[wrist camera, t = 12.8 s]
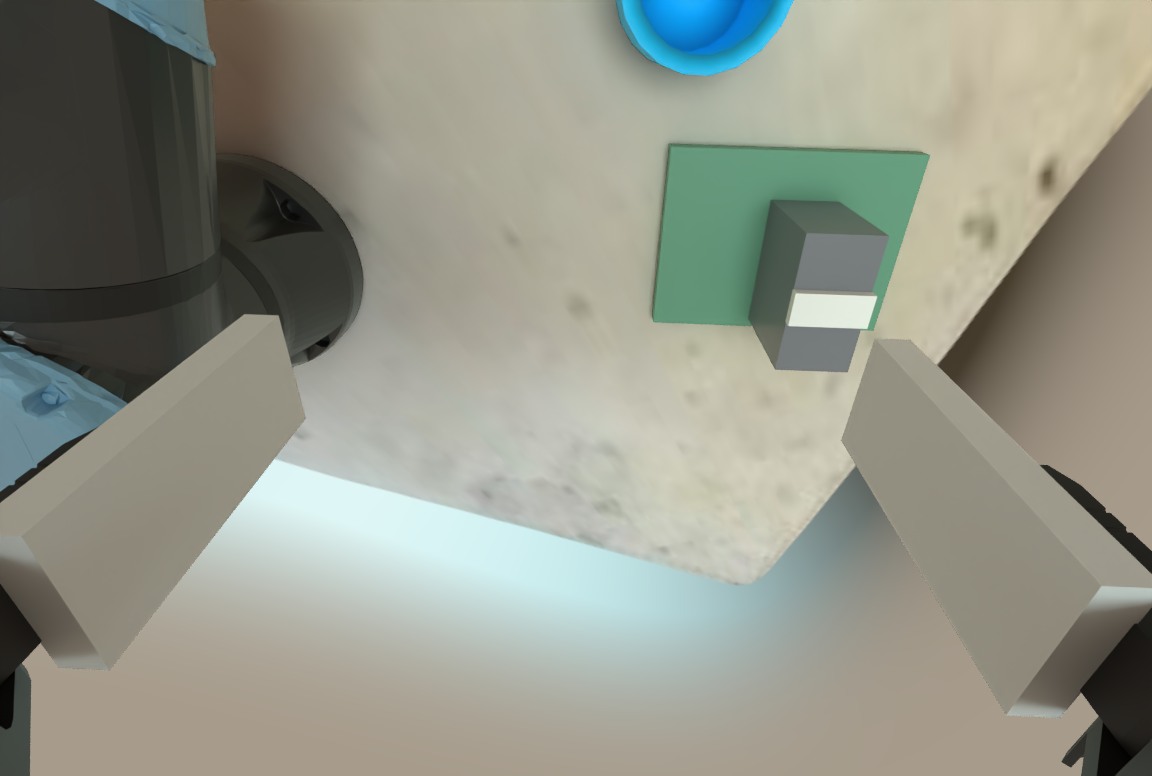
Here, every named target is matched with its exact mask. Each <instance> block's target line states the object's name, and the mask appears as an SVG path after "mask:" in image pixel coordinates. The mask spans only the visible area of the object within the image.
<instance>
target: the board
mask: <svg viewBox="0 0 1152 776" xmlns="http://www.w3.org/2000/svg"><path fill="white" fill-rule="evenodd" d="M929 157H930V155H928V154H925V153H923V152H909V151H878V150H847V149H816V148H785V147H753V146H722V145H691V144H669V152H668V162H667V172H666V182H665V192H664V202H663V212H662V222H661V231H660V241H659V251H658V261H657V271H656V281H655V291H654V301H653V311H652V318H653V322H662V323H688V324H714V325H740V326H752V325H751V323H750V321H749V319H748V316H749V311H750V306H751V301H752V296H753V291H754V285H755V280H756V275H757V270H758V265H759V259H760V254H761V249H762V244H763V239H764V234H765V228H766V223H767V218H768V213H769V208H770V202H771V200H801V201H833V202H841V203H842V204H843V205H845V206H846V207H848V208H849V209H851V210H852V211H854V212H855V213H857V214H858V215H860V216H861V217H862V218H864V219H865V220H867V221H868V222H870V223H871V224H873V225H874V226H876V227H877V228H879V229H880V230H882V231H883V232H884V233H886V234H887V235H889V239H888V242H887V246H886V249H885V252H884V255H883V259H882V262H881V265H880V268H879V272H878V275H877V278H876V281H875V285H874V288H873V291H872V292H873V293H874V294H876V295H877V299H876V302H875V306H874V309H873V312H872V315H871V318H870V322H869V325H868V328H867V329H861V330H870V331H873V330H874V327H875V324H876V321H877V318H878V315H879V312H880V309H881V306H882V302H883V299H884V296H885V293H886V290H887V287H888V284H889V281H890V278H891V275H892V271H893V268H894V265H895V262H896V259H897V256H898V253H899V250H900V247H901V244H902V241H903V237H904V234H905V231H906V228H907V225H908V222H909V219H910V216H911V213H912V210H913V206H914V203H915V200H916V197H917V194H918V191H919V188H920V185H921V182H922V179H923V175H924V172H925V169H926V166H927V163H928V160H929Z"/></svg>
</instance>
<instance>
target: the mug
mask: <svg viewBox="0 0 1152 776" xmlns="http://www.w3.org/2000/svg"><path fill="white" fill-rule="evenodd" d="M793 1H794V0H616V3H617V8H618V13H619V18H620V23H621V25H622V26H623V28H624V30H625V32H626V34H627V36H628V38H629V40H630V41H631V43H632V44H633V45H634V46H635V47H636V48H637V49H638V50H639V51H640V52H641V53H642V54H643V55H644V56H645V57H646V58H647V59H649V60H651V61H653V62H656V63H658V64H660V65H663V66H665V67H667V68H670V69H672V70H674V71H677V72H679V73H681V74H687V75H709V76H710V75H713V74H716V73H720V72H723V71H726V70H729V69H733V68H736V67H738V66H739V65H741V64H742V63H743V62H745V61H746V60H748V59H749V58H751V57H752V56H754V55H755V54H756V53H758V52H759V51H761V50H762V49H763V47H764V46H765V45H766V44H767V43H768V41H769V40H770V39H771V38H772V37H773V35H774V34H775V33H776V32H777V31H778V29H779V28H780V27H781V26H782V24H783V22H784V20H785V18H786V16H787V13H788V11H789V9H790V7H791V5H792V3H793Z"/></svg>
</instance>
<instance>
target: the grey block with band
mask: <svg viewBox="0 0 1152 776" xmlns="http://www.w3.org/2000/svg"><path fill="white" fill-rule="evenodd" d="M888 239H889V235H887V234H886V233H884V232H883V231H882V230H880V229H879V228H877V227H876V226H874V225H873V224H871V223H870V222H868V221H867V220H865V219H864V218H862V217H861V216H860V215H858V214H857V213H855V212H854V211H852V210H851V209H849V208H848V207H846V206H845V205H843V204H842V203H841V202H833V201H801V200H771V202H770V208H769V213H768V218H767V223H766V228H765V234H764V239H763V244H762V249H761V254H760V259H759V265H758V270H757V275H756V280H755V285H754V291H753V296H752V301H751V306H750V311H749V316H748V319H749V321H750V323H751V325H752V326H753V328H754V330H755V332H756V334H757V336H758V338H759V340H760V342H761V344H762V345H763V347H764V349H765V351H766V353H767V355H768V357H769V359H770V361H771V363H772V364H773V366H774V368H775V370H801V371H828V372H848V369H849V366H850V363H851V360H852V356H853V353H854V350H855V347H856V343H857V340H858V337H859V334H860V330H861V329H867V328H868V325H869V322H870V318H871V315H872V312H873V309H874V306H875V302H876V299H877V295H876V294H874V293H873V292H872V291H873V288H874V285H875V281H876V278H877V275H878V272H879V268H880V265H881V262H882V259H883V255H884V252H885V249H886V246H887V242H888Z"/></svg>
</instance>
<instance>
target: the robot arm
mask: <svg viewBox="0 0 1152 776" xmlns="http://www.w3.org/2000/svg"><path fill="white" fill-rule="evenodd" d="M212 66H213V67H216V59H215V54H214V53H213V52H212V51H211V49H210V48H209V40H208V33H207V25H206V18H205V9H204V0H0V776H30V713H31V712H30V711H31V679H30V677H29V674H28V671H27V669H26V668H25V667H24V666H23V664H22V662H23V661H24V660H25V659H26V658H27V657H28V656H29V654H30V653H31V652H32V651H33V650H34V649H35V648H36V647H37V646H38V645H39V644H40V643H41V644H42V645H43V647H44V648H45V649H46V651H47V652H48V653H49V655H50V656H51V658H52V659H53V660H54V662H55V663H56V664H57V666H58V667H59V668H72V669H92V670H110V669H111V668H112V667H113V666H114V664H115V663H116V662H117V660H118V659H119V658H120V657H121V655H122V654H123V653H124V651H125V650H126V649H127V648H128V646H129V645H130V644H131V642H132V641H133V640H134V639H135V637H136V636H137V635H138V633H139V632H140V631H141V630H142V628H143V627H144V626H145V624H146V623H147V622H148V621H149V619H150V618H151V617H152V615H153V614H154V613H155V612H156V610H157V609H158V608H159V606H160V605H161V604H162V602H163V601H164V600H165V598H166V597H167V596H168V595H169V593H170V592H171V591H172V590H173V588H174V587H175V586H176V585H177V583H178V582H179V581H180V579H181V578H182V577H183V575H184V574H185V573H186V572H187V570H188V569H189V568H190V566H191V565H192V564H193V563H194V561H195V560H196V559H197V557H198V556H199V555H200V554H201V552H202V551H203V550H204V549H205V547H206V546H207V545H208V543H209V542H210V541H211V539H212V538H213V537H214V536H215V534H216V533H217V531H218V530H219V529H220V528H221V527H222V525H223V524H224V523H225V521H226V520H227V519H228V518H229V516H230V515H231V513H232V512H233V511H234V510H235V509H236V507H237V506H238V505H239V503H240V502H241V501H242V500H243V498H244V497H245V496H246V494H247V493H248V492H249V491H250V489H251V488H252V487H253V485H254V484H255V483H256V482H257V480H258V479H259V478H260V476H261V475H262V474H263V473H264V471H265V470H266V468H267V467H268V466H269V465H270V463H271V462H272V461H273V460H274V458H275V457H276V456H277V455H278V453H279V452H280V451H281V449H282V448H283V447H284V446H285V444H286V443H287V442H288V440H289V439H290V438H291V437H292V435H293V434H294V433H295V431H296V430H297V429H298V428H299V426H300V425H301V424H302V422H303V421H304V420H305V419H306V417H305V414H304V410H303V406H302V402H301V399H300V395H299V391H298V387H297V383H296V380H295V376H294V372H293V368H292V367H294V366H297V365H300V364H303V363H305V362H308V361H310V360H312V359H314V358H316V357H318V356H320V355H321V354H323V353H324V352H326V351H327V350H328V349H330V348H331V347H332V346H333V345H334V344H335V343H336V342H337V341H338V340H339V338H340V337H341V336H342V335H343V334H344V333H345V332H346V331H347V329H348V328H349V327H350V325H351V324H352V322H353V320H354V319H355V317H356V315H357V312H358V309H359V306H360V303H361V298H362V289H363V279H362V270H361V264H360V260H359V256H358V253H357V250H356V247H355V245H354V242H353V240H352V238H351V236H350V234H349V232H348V230H347V228H346V227H345V225H344V223H343V222H342V220H341V219H340V217H339V216H338V215H337V213H336V212H335V211H334V209H333V208H332V207H331V206H330V205H329V204H328V202H327V201H326V200H325V199H324V198H323V197H322V196H321V195H320V194H319V193H318V192H316V191H315V190H314V189H313V188H312V187H311V186H309V185H308V184H307V183H306V182H304V181H303V180H301V179H300V178H298V177H297V176H295V175H294V174H292V173H290V172H289V171H287V170H285V169H283V168H281V167H279V166H277V165H275V164H272V163H270V162H267V161H264V160H261V159H258V158H255V157H250V156H245V155H239V154H216V150H215V128H214V106H213V84H212ZM841 441H842V443H843V444H844V446H845V448H846V449H847V451H848V453H849V454H850V456H851V458H852V459H853V461H854V463H855V464H856V466H857V467H858V469H859V471H860V472H861V474H862V475H863V478H864V479H865V481H866V482H867V484H868V486H869V488H870V489H871V491H872V492H873V494H874V496H875V497H876V499H877V501H878V502H879V504H880V506H881V508H882V509H883V511H884V513H885V514H886V516H887V517H888V519H889V521H890V522H891V524H892V526H893V528H894V529H895V531H896V532H897V534H898V536H899V538H900V539H901V541H902V543H903V544H904V546H905V548H906V549H907V551H908V553H909V554H910V556H911V557H912V559H913V560H914V562H915V564H916V566H917V567H918V569H919V571H920V572H921V574H922V576H923V578H924V579H925V581H926V582H927V584H928V586H929V587H930V589H931V591H932V593H933V594H934V596H935V597H936V599H937V601H938V603H939V604H940V606H941V608H942V609H943V611H944V613H945V614H946V616H947V617H948V619H949V621H950V623H951V624H952V626H953V627H954V629H955V631H956V633H957V634H958V636H959V638H960V639H961V641H962V643H963V644H964V646H965V647H966V649H967V651H968V652H969V654H970V656H971V658H972V659H973V661H974V663H975V664H976V666H977V667H978V669H979V671H980V672H981V674H982V676H983V678H984V679H985V681H986V683H987V684H988V686H989V688H990V689H991V691H992V692H993V694H994V696H995V698H996V699H997V701H998V702H999V704H1000V706H1001V707H1002V709H1003V711H1004V713H1005V714H1006V715H1013V716H1033V717H1053V718H1060V717H1061V716H1062V715H1063V714H1064V712H1065V711H1066V710H1067V709H1068V708H1069V706H1070V705H1071V704H1072V703H1073V702H1074V700H1075V699H1076V698H1077V697H1078V696H1079V694H1080V693H1082V694H1083V695H1084V697H1085V698H1086V699H1087V701H1088V702H1089V703H1090V705H1091V706H1092V708H1093V709H1094V710H1095V712H1096V713H1097V714H1098V715H1099V717H1098V718H1097V719H1096V720H1095V721H1094V722H1093V723H1092V725H1091V726H1090V727H1089V728H1088V729H1087V730H1086V732H1084V734H1083V735H1082V736H1081V737H1080V738H1079V739H1078V740H1077V742H1076V743H1075V744H1074V745H1073V746H1072V747H1071V748H1070V749H1069V750H1068V752H1067V753H1066V755H1065V757H1064V758H1063V760H1062V762H1063V763H1064V764H1066V765H1067V766H1069V767H1072V765H1074V764H1075V763H1076V761H1077V760H1078V759H1079V758H1081V757H1084V759H1083V767H1082V774H1081V776H1152V551H1151V550H1150V549H1149V548H1148V547H1147V546H1146V545H1145V544H1143V543H1142V542H1141V541H1140V540H1139V539H1138V538H1137V537H1136V536H1135V535H1134V534H1133V533H1127V531H1126V527H1125V526H1124V525H1123V524H1122V523H1121V522H1120V521H1119V520H1118V519H1117V518H1116V517H1114V516H1113V515H1112V514H1111V513H1106V511H1105V507H1104V506H1103V505H1102V504H1100V503H1099V502H1098V501H1097V500H1096V499H1095V498H1094V497H1093V496H1092V495H1091V494H1090V493H1089V492H1088V491H1086V490H1085V489H1084V488H1083V487H1082V486H1081V485H1079V484H1078V483H1076V482H1075V481H1073V480H1071V479H1070V478H1068V477H1066V476H1065V475H1063V474H1061V473H1060V472H1058V471H1056V470H1055V469H1053V468H1051V467H1050V466H1048V465H1039V464H1038V463H1037V462H1035V460H1034V459H1033V458H1031V457H1030V456H1029V455H1028V454H1027V453H1026V452H1025V451H1024V450H1023V449H1022V448H1021V447H1020V446H1019V445H1018V444H1017V443H1016V442H1015V441H1014V440H1013V439H1012V438H1011V437H1010V436H1009V435H1008V434H1007V433H1006V432H1005V431H1003V429H1002V428H1001V427H1000V426H999V425H997V424H996V423H995V422H994V421H993V420H992V419H991V418H990V417H989V416H988V415H987V414H986V413H985V412H984V411H983V410H982V409H981V408H980V407H979V406H978V405H977V404H976V403H975V402H974V401H973V400H972V399H971V398H970V397H969V396H968V395H966V393H965V392H963V391H962V390H961V389H960V388H959V387H958V386H957V385H956V384H955V383H954V382H953V381H952V380H951V379H950V378H949V377H948V376H947V375H946V374H945V373H944V372H943V371H942V370H941V369H940V368H939V367H938V366H937V365H936V364H935V363H934V362H933V361H932V360H931V359H930V358H928V357H927V356H926V355H925V354H924V353H923V352H922V351H921V350H920V349H919V348H918V347H917V346H916V345H915V344H914V343H913V342H912V341H911V340H901V339H875V340H874V343H873V346H872V349H871V352H870V355H869V358H868V361H867V364H866V367H865V370H864V373H863V376H862V379H861V382H860V385H859V388H858V391H857V394H856V397H855V400H854V404H853V407H852V410H851V413H850V416H849V419H848V422H847V425H846V428H845V431H844V434H843V437H842V440H841Z"/></svg>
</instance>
